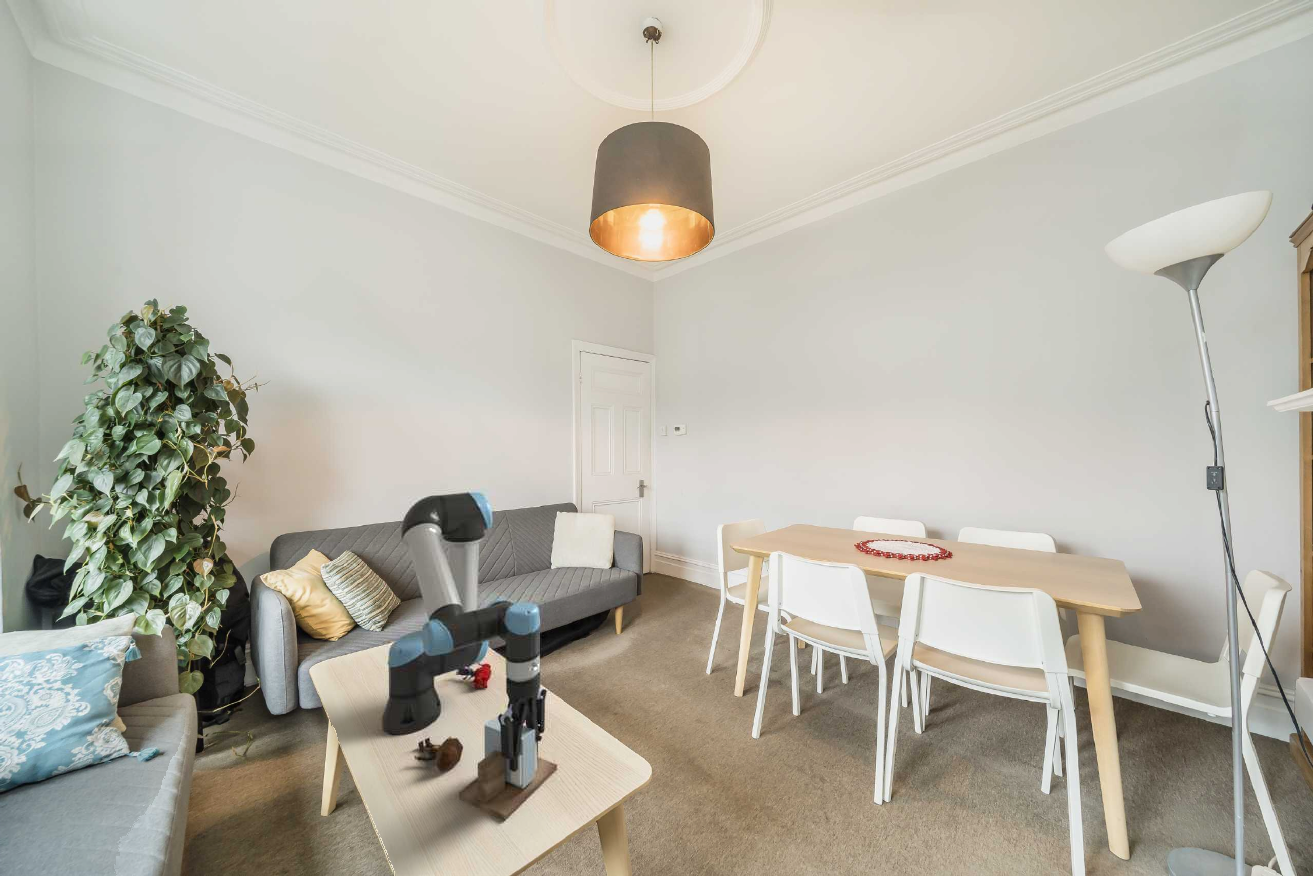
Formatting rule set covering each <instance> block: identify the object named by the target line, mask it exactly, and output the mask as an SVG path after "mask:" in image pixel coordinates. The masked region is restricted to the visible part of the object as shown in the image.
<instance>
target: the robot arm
mask: <svg viewBox="0 0 1313 876" xmlns="http://www.w3.org/2000/svg"><path fill="white" fill-rule="evenodd" d="M492 525H493V510H492V507H491V503H490V502H489V500H488V498H487V496H486V495H485V494H484V493H482V492H469V491H467V492H459V493H449V494H441V495H440V494H439V495H438V494H437V495H435V494H434V495H429V496H426V497H423V498H421V499H420V500H418V501H417V502H415V503H414V504H413V505H412V506H411V507H410V508H409V509H408V511H407V512H406V514H405V516H404V518H403V520H402V522H401V528H400V537H401V541H402V543H403V547H405V548H406V549H407V550H409V553H410V556H411V560H412V564H413V567H414V571H415V574H416V578H417V581H418V586H419V590H420V593H421V597H422V600H423V603H424V604H423V605H424V608H425V611H426V615H427V619H428V621H426V622H425V623H424V624H423V625H422V629H421V630H416V631H413V632H410V633H407V634H405V635H402V636H401V637H399V638H397V639H396V640H395V641H394V642H392V644H391V645H390V648H389V649H388V660H387V666H388V699H387V701H386V705H385V708H384V711H383V714H382V717H381V728H382V730H383V731H384V732H385V733H387V734H390V735H405V734H406V735H407V734H411V733H414V732H417V731H421V730H422V729H425V728H427V727H429V726H430V725H432V724H433V723H435V722H436V721H437V720H438V718H439V717H440V716H441V714H442V704H441V703H442V702H441V700H440V699H441V698H440V697H439V695H438V692H437V690H436V687H435V678H436V677H439V676H441V675H445V674H448V673H452V672H455V671H458V669H461V668H464V667H465V668H468V667H470V668H471V667H472V666H473V665H476V664H478V663H481V662H482V661H483V660H484V659H485V657H486V655H487V653H488V650H489V644H490V643H489V641H492V640H497V639H499V638H500V639H502V640H503V641H504V642H505V675H506V679H505V680H506V681H505V685H506V686H505V687H506V688H505V689H506V691H505V692H506V695H507V697H508V703H507V710H505V712H504V713H503V714H502V713H500V714H499V715H497V716H498V720H499V723H500V730H501V755H502V757H504V758H507V759H509V769H510V770H511V782H514V783H516V784H518V785H521V784H522V754H520V745H521V737H522V729H523V726H524V724H525V726H526V727H529V728H531V729H534V730H535V771H536V770H537V752H538V753H539V742H541V741H542V739H543V737H542V736H541V734H543V733H544V732H545V730H546V729H545V724H546V722H545V720H546V714H545V713H546V696H547V693H548V690H547V689H544V688H541V672H540V670H541V669H540V668H541V666H540V664H541V657H540V656H541V655H540V654H541V653H540V652H541V651H540V650H541V648H540V646H541V643H540V642H541V635H540V634H541V618H540V609H539V607H538V605H537V604H535V603H530V602H519V603H514V602H512V601H510V600H507V599H505V598H498V599H494V600H493V601H492V602H490V603H488V604H487V606H486V607H483V608H479V609H478V592H479V591H478V590H479V584H478V583H479V561H480V560H479V558H480V553H479V552H480V542H482V540H484V538H485V532H486V531H488V530H490V529H491V528H492ZM441 538H442V539H443V540H442V541H444V542H445V543H446V544H447V545H448V548H447V549H448V551H447V557H446V554H445V551H444V547H443V545H442V543H441V542H442V541H441Z"/></svg>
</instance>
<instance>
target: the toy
mask: <svg viewBox="0 0 1313 876" xmlns="http://www.w3.org/2000/svg"><path fill="white" fill-rule="evenodd" d="M430 738H431V737H427V738H425V739H424V740H420V741H419V742H418V748H419V751H420V752H422V753H426V754H427V755H429V756H428V757H427V756H421V755H420V753H418V754H417V755H415V754H414V755H413V757H414V760H416V761H418V762H419V761H423V762H430V761H434V765H436V767H437V769H438V770H439V771H440V772H449V771H451V770H453V769H454V768H455V767H456V766H457V765H458V763H459V762H460V761H461V759H462V754H463V751H464V750H463V749H464V746H463V744H462V743H461V741H460V740H459V739H458V738H457V737H452V736H448V738H446V739H445V740H444V741H443V742H442V743H441V744H438V743H437V744H433V743H431V739H430Z"/></svg>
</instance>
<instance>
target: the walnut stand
mask: <svg viewBox="0 0 1313 876" xmlns="http://www.w3.org/2000/svg"><path fill="white" fill-rule="evenodd" d="M557 770H558V764H556V763H554V762H552V761H549V760H546V759H544V758H541V757H539V751H538V752H537V770H536V771H535V778H534V779H533V780H532V781H531V782H530V783H529V784H528V785H527V786H526V787H525V788H520V787H518V786H516V785H514V784H512V783H509V782H507V781H505V758H504V757H502V755H501V752H499V751H497V750H494V751H493V752H492V753H490V754H489V755H488V756H486V757H485V756H484V758H482V760H480V761H478V763H477V777H476V778H475V779H474V780H472V781H471V782H470V783H469V784H467V786H465V787H463V789H461V790H460V791H458V799H460V800H462V801H463V802H467V803H468V804H470V805H472V806H474V807H476V808H478V809H480V810H482V811H484V812H486V813H487V814H490V815H492V816H494V817H496V818H498V819H499V820H502V821H504V822H506V821H507V819H509V817H511V816H512V815H513V814H514V812H516V810H517V809H519V808H520V807H521V806H522V805H523V804H524V803H525V802H526V801H527V800H528V799H529V798H530V796H532V795H533V794H534V793H535V792H536V791H537V790H538V789H539V788H540V787H541V786H542V785H543V784H544V783H545V782H546V781H547V780H548V779H549V778H550V777H551V776H552V775H553V774H554V773H556V771H557Z"/></svg>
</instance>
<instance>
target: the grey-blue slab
mask: <svg viewBox="0 0 1313 876" xmlns="http://www.w3.org/2000/svg"><path fill="white" fill-rule="evenodd" d="M498 716H499V715H497V716H495V717H493V718H492V719H491V720H489V721H488V722H486V723H485V724H484V729H483V730H484V731H483V732H484V733H483V734H484V758H485V757H486V756H488V755H489V754H490V753H492V752H493V751H494V750H497V751H499V752H501V730H500V723H499V720H498ZM520 754H522V784H521V785H518V784H516V783H514V782H511V770H510V769H509V759H507V758H505V781H507V782H509V783H512V784H514V785H516V786H518V787H520V788H525V787H526V786H527V785H528V784H529V783H530V782H531V781H532V780H533V779H534V778H535V730H534V729H531V728H529V727H526V725H523V729H522V737H521V745H520Z"/></svg>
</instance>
